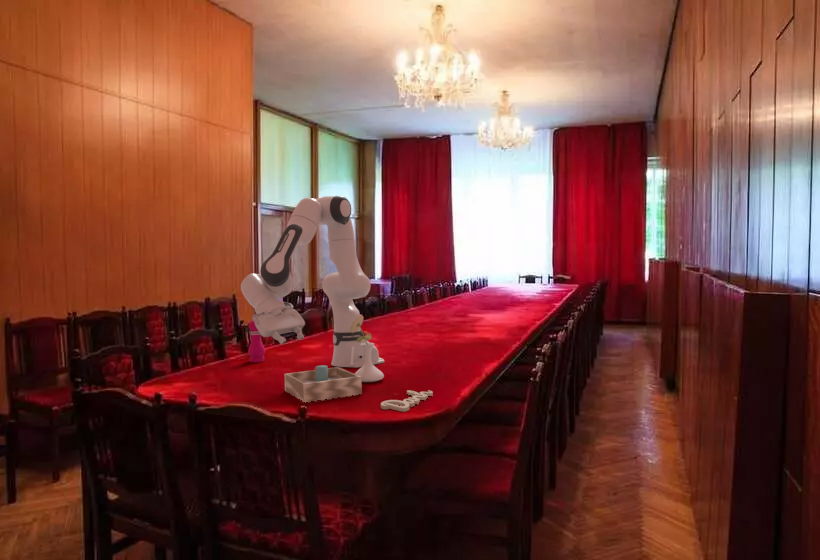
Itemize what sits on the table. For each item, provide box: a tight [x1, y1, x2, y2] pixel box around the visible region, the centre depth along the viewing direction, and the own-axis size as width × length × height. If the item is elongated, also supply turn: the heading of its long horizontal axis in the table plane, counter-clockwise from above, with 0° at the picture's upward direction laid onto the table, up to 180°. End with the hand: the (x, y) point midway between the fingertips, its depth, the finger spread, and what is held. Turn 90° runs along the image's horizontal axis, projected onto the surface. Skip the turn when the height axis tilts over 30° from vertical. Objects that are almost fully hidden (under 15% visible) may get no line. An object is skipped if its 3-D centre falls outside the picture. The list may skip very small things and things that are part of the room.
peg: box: [315, 365, 328, 382], centre depth 209 cm, size 4×4×9 cm
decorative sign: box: [380, 389, 434, 413], centre depth 194 cm, size 23×2×10 cm
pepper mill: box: [248, 320, 266, 363], centre depth 272 cm, size 7×7×20 cm
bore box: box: [284, 366, 363, 404], centre depth 209 cm, size 20×20×6 cm
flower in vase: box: [349, 314, 385, 383], centre depth 224 cm, size 13×11×25 cm
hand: (293, 340), depth 214 cm, fingers open, 8 cm apart
